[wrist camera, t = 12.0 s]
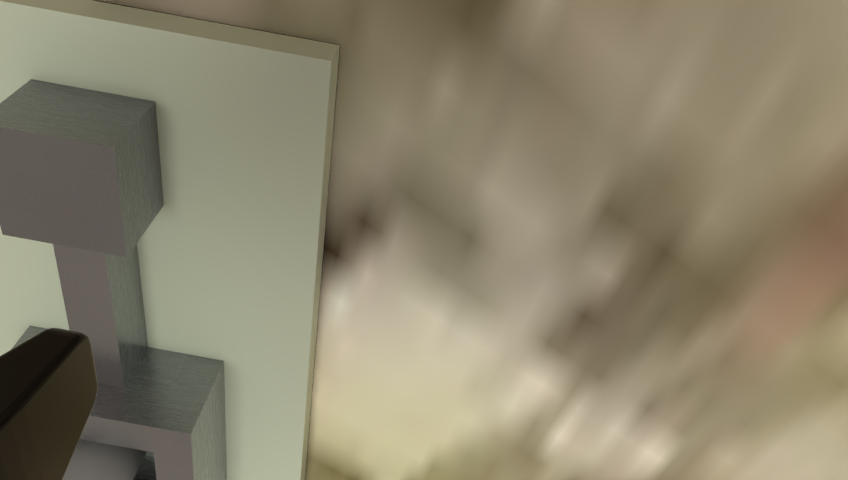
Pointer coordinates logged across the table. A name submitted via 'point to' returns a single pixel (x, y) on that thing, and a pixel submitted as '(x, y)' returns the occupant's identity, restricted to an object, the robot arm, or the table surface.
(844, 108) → the table surface
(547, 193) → the table surface
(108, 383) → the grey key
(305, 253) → the pale green rectangular panel
